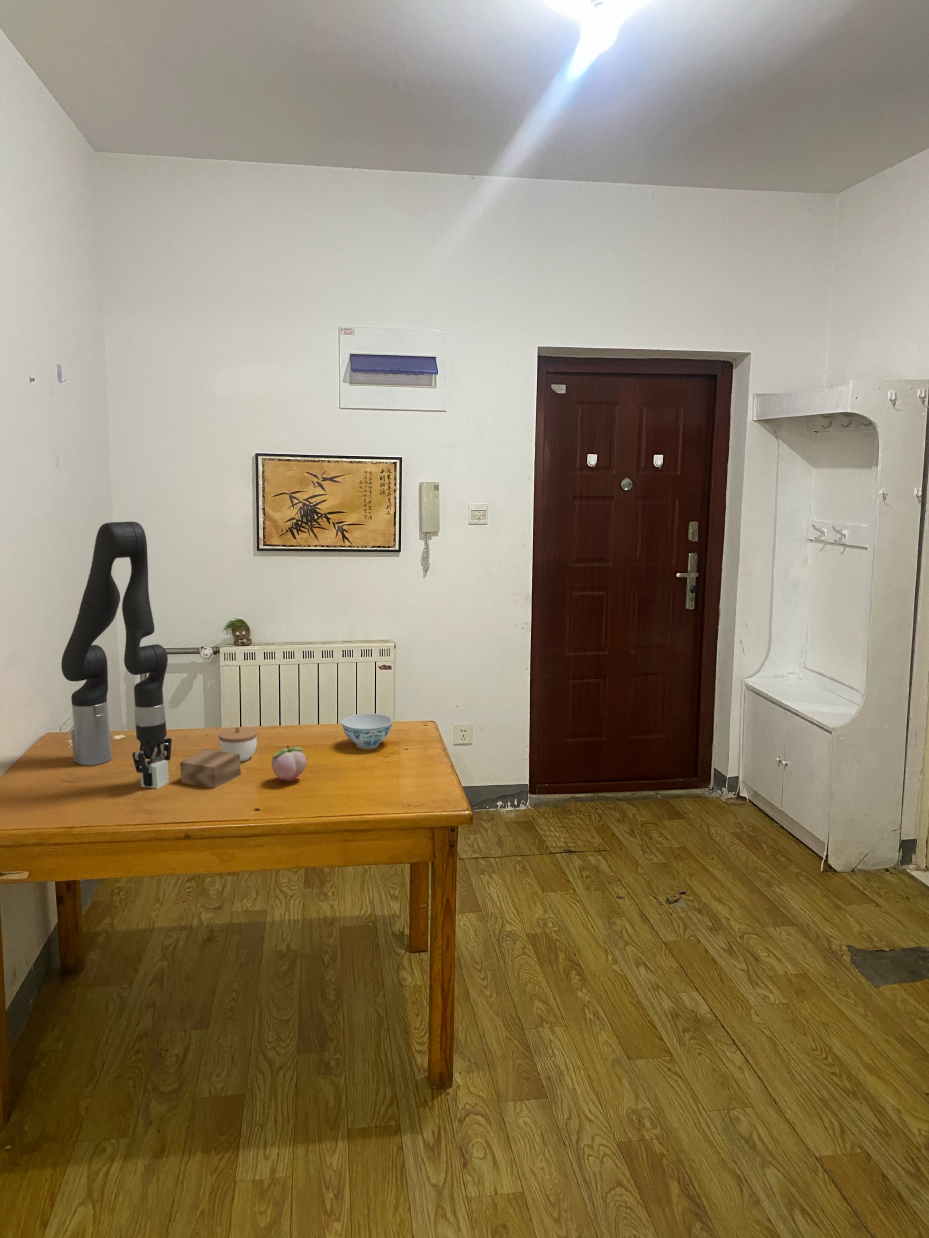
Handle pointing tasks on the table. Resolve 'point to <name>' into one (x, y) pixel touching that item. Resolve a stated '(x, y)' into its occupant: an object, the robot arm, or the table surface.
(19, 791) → the table surface
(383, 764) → the table surface
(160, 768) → the off-white cube
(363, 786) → the table surface
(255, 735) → the lidded jar
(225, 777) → the walnut block
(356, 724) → the chinaware
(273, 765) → the decorative fruit
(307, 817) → the table surface
